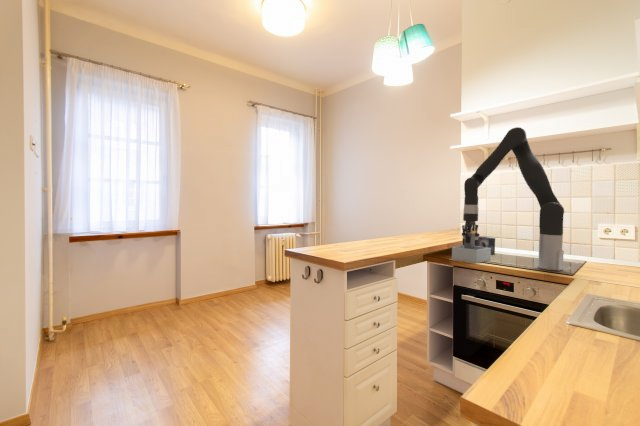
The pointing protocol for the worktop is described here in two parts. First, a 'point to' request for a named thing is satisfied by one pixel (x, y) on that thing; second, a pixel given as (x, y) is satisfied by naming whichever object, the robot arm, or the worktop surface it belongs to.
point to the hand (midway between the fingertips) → (469, 242)
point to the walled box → (471, 254)
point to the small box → (487, 243)
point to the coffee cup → (475, 239)
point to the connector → (472, 241)
